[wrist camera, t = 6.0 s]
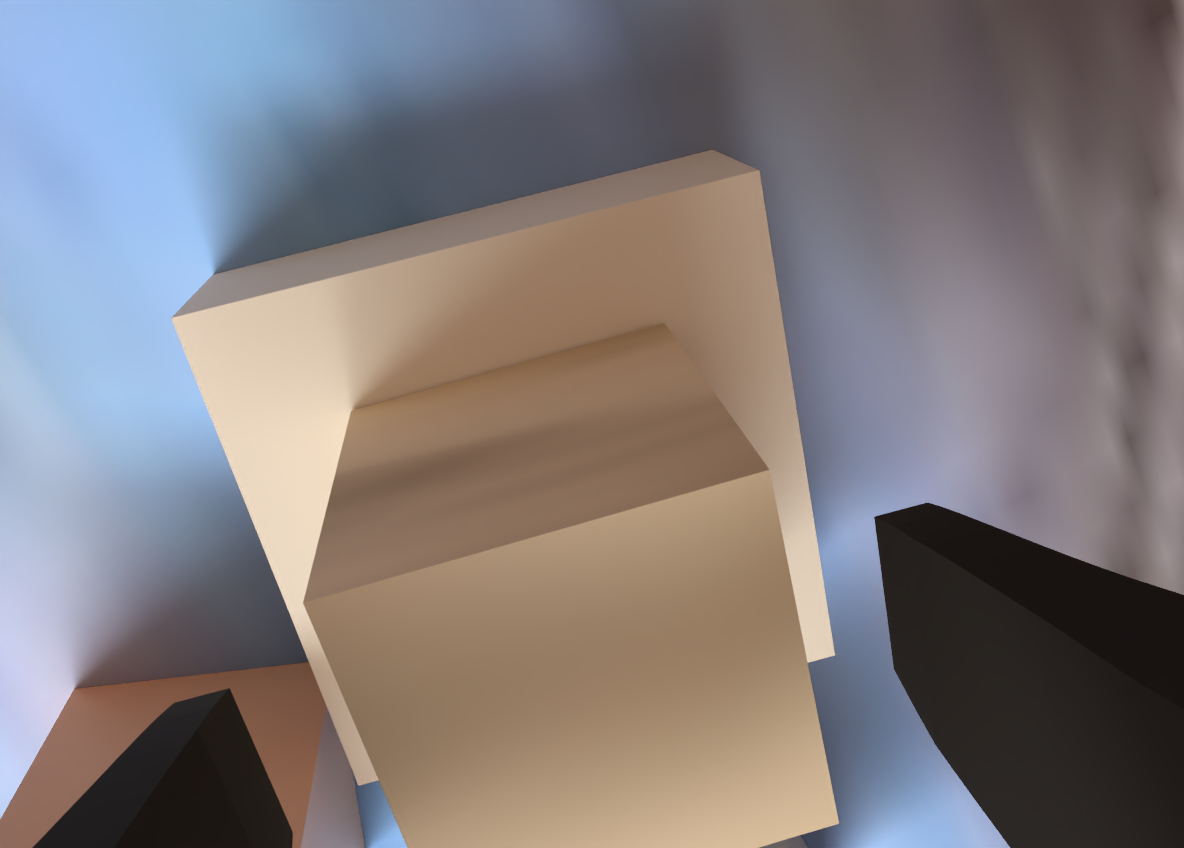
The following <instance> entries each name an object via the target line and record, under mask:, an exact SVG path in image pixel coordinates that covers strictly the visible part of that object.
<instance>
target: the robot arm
mask: <svg viewBox="0 0 1184 848" xmlns="http://www.w3.org/2000/svg"><path fill="white" fill-rule="evenodd" d="M874 518H875V525H876V533H877V541H878V548H879V556H880V564H881V572H882V579H883V587H884V595H885V602H886V610H887V618H888V626H889V633H890V641H891V649H892V656H893V664H894V670H895V671H896V673H897V675H898V677H899V679H900V681H901V683H902V685H903V686H904V688H905V690H906V692H907V694H908V696H909V698H910V700H911V702H912V703H913V705H914V707H915V709H916V711H917V713H918V714H919V716H920V718H921V720H922V722H923V723H924V725H925V727H926V729H927V730H928V732H929V734H930V736H931V737H932V739H933V741H934V743H935V745H936V746H937V747H938V749H939V750H940V752H941V753H942V754H943V756H944V757H945V759H946V760H947V761H948V763H949V764H950V766H951V767H952V768H953V770H954V771H955V773H956V774H957V775H958V777H959V778H960V779H961V781H962V782H963V784H964V785H965V786H966V788H967V789H968V790H969V792H970V793H971V795H972V796H973V797H974V799H975V800H976V802H977V803H978V804H979V806H980V807H981V808H982V810H983V811H984V812H985V814H986V815H987V816H988V818H989V819H990V821H991V822H992V823H993V825H994V826H995V827H996V829H997V830H998V831H999V833H1000V834H1001V835H1002V837H1003V838H1004V840H1005V841H1006V842H1007V844H1008V845H1009V846H1010V848H1184V595H1182V594H1179V593H1176V592H1172V591H1169V590H1166V589H1163V588H1160V587H1157V586H1154V585H1150V584H1147V583H1144V582H1141V581H1138V580H1135V579H1132V578H1129V577H1126V576H1123V575H1120V574H1117V573H1115V572H1112V571H1109V570H1106V569H1103V568H1100V567H1098V566H1095V565H1092V564H1089V563H1087V562H1084V561H1081V560H1078V559H1076V558H1073V557H1070V556H1068V555H1065V554H1062V553H1060V552H1057V551H1055V550H1052V549H1049V548H1047V547H1044V546H1042V545H1039V544H1036V543H1034V542H1031V541H1029V540H1026V539H1024V538H1021V537H1019V536H1016V535H1014V534H1011V533H1008V532H1006V531H1003V530H1001V529H998V528H996V527H993V526H991V525H988V524H986V523H983V522H981V521H978V520H975V519H973V518H970V517H968V516H965V515H963V514H960V513H957V512H954V511H952V510H949V509H946V508H943V507H940V506H937V505H934V504H930V503H925V504H921V505H917V506H913V507H909V508H906V509H902V510H898V511H894V512H891V513H887V514H883V515H879V516H876V517H874ZM292 843H293V831H292V829H291V827H290V824H289V822H288V820H287V818H286V815H285V813H284V811H283V809H282V806H281V804H280V802H279V799H278V797H277V795H276V793H275V790H274V788H273V786H272V783H271V781H270V779H269V777H268V774H267V772H266V770H265V767H264V765H263V763H262V761H261V758H260V756H259V754H258V751H257V749H256V747H255V745H254V742H253V740H252V738H251V736H250V733H249V731H248V729H247V726H246V724H245V722H244V720H243V717H242V715H241V713H240V710H239V708H238V706H237V704H236V701H235V699H234V697H233V694H232V692H231V690H230V688H228V689H224V690H220V691H217V692H213V693H209V694H205V695H202V696H198V697H194V698H190V699H186V700H183V701H179V702H175V703H173V704H172V705H171V706H170V707H169V708H167V709H166V710H165V711H164V712H163V713H162V714H161V715H160V716H158V717H157V718H156V719H155V720H154V721H153V722H152V723H151V724H150V725H149V726H148V727H147V728H146V729H145V730H144V731H143V732H142V733H141V734H140V735H139V736H138V737H137V738H136V739H135V740H134V741H133V742H132V743H131V745H130V746H129V747H128V748H127V749H126V750H125V751H124V752H123V753H122V754H121V755H120V756H119V757H118V758H117V759H116V760H115V761H114V762H113V763H112V764H111V766H110V767H109V768H108V769H107V770H106V771H105V772H104V773H103V774H102V775H101V776H100V777H99V778H98V779H97V780H96V781H95V782H94V784H93V785H92V786H91V787H90V788H89V789H88V790H87V791H86V792H85V793H84V794H83V795H82V796H81V797H80V798H79V799H78V800H77V801H76V802H75V803H74V805H73V806H72V807H71V808H70V809H69V810H68V811H67V812H66V813H65V814H64V815H63V816H62V817H61V818H60V819H59V820H58V821H57V822H56V823H55V824H54V826H53V827H52V828H51V829H50V830H49V831H48V832H47V833H46V834H45V835H44V836H43V837H42V838H41V839H40V840H39V841H38V842H37V843H36V844H35V845H34V846H33V847H32V848H292Z"/></svg>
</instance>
